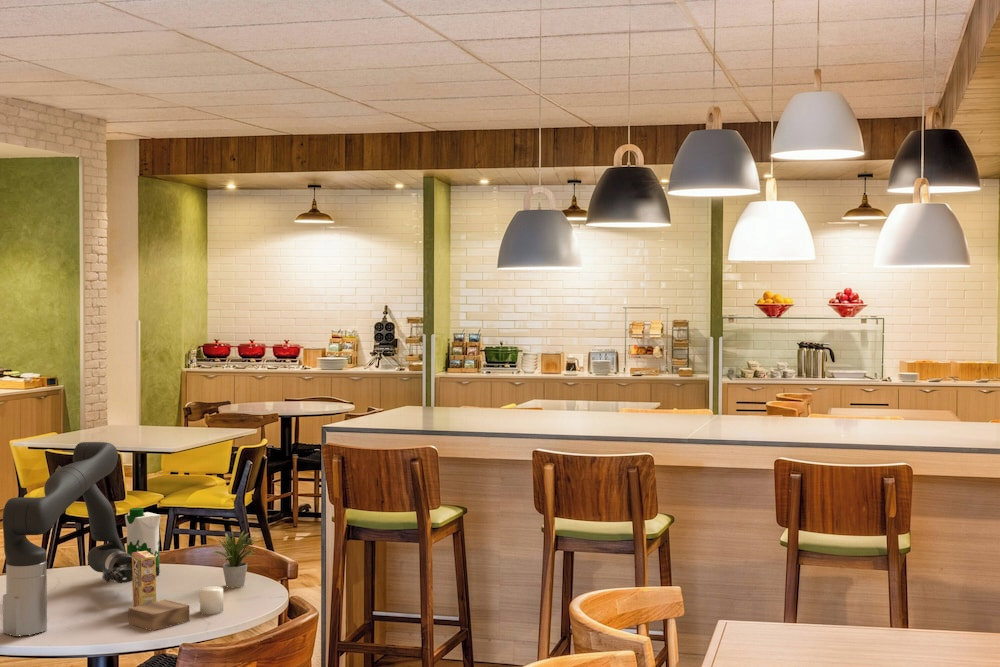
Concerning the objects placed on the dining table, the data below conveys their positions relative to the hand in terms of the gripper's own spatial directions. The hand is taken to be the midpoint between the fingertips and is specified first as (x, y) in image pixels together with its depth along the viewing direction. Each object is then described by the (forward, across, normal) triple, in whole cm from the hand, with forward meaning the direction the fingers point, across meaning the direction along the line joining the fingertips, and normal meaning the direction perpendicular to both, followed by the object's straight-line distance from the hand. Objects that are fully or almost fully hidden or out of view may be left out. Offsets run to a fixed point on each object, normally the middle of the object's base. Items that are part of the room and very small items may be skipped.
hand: (137, 577), depth 303 cm
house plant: (-8, +30, +8) cm, 32 cm away
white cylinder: (+15, +15, +8) cm, 23 cm away
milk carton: (-38, +12, +8) cm, 41 cm away
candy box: (+6, 0, +8) cm, 10 cm away
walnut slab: (+18, 0, +8) cm, 20 cm away
